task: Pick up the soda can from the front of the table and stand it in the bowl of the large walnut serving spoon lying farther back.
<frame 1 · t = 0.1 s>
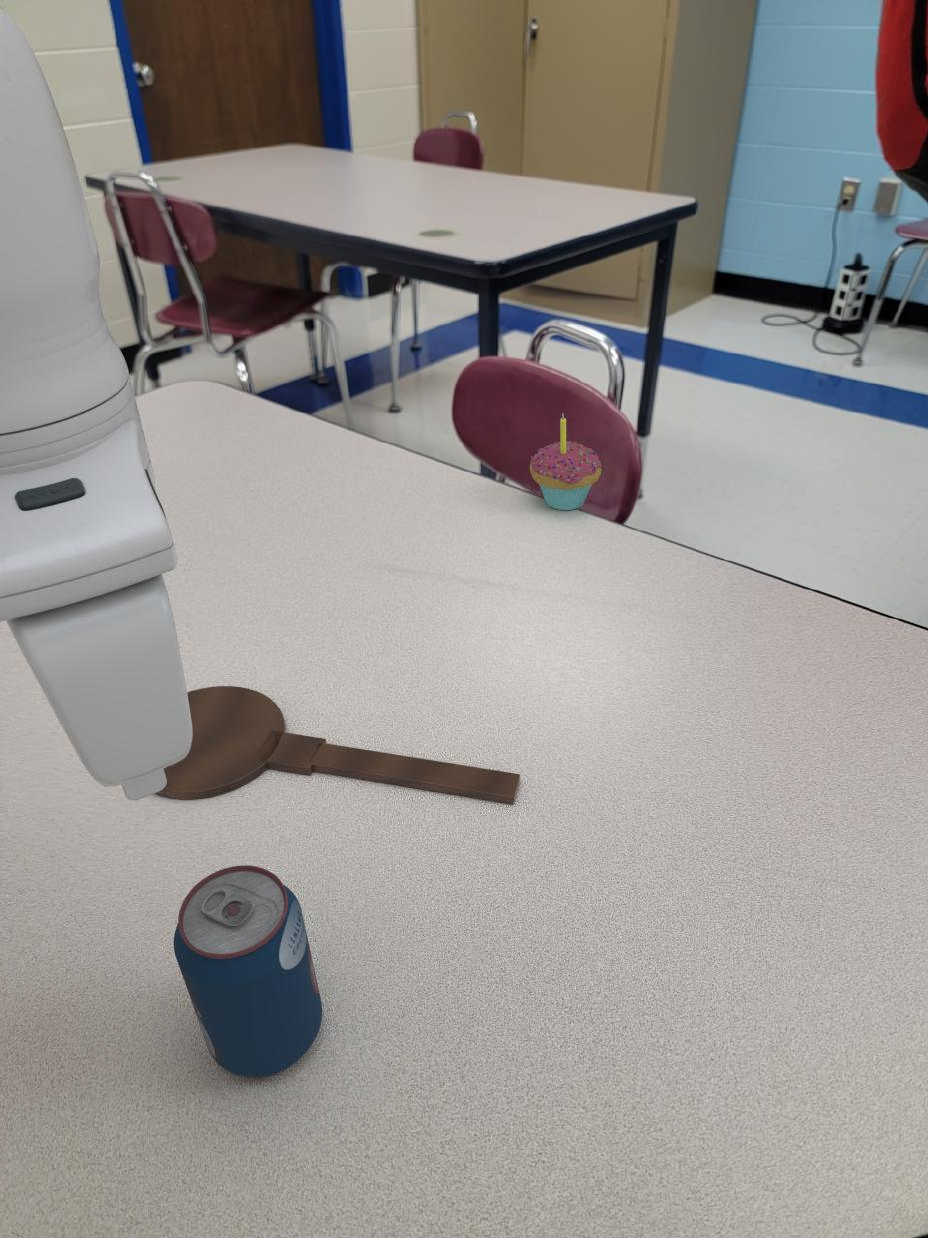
hand: (118, 725, 43), 23 cm above the table, tool pointing down, fingers open, 8 cm apart
serving spoon: (208, 742, 76), on the table
soda can: (268, 1033, 55), on the table
cupcake: (563, 502, 109), on the table
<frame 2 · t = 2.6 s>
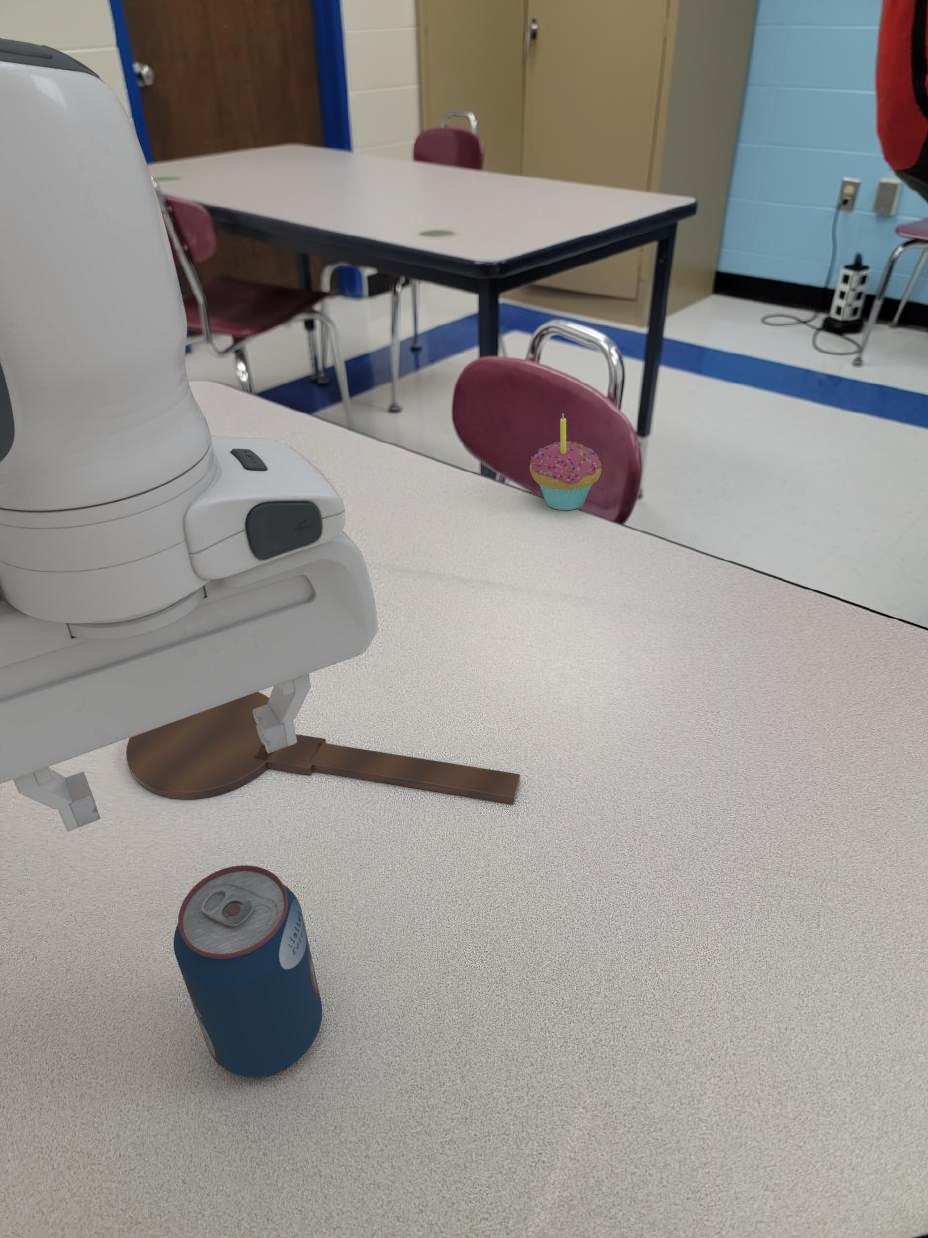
hand: (184, 777, 43), 21 cm above the table, tool pointing down, fingers open, 8 cm apart
nothing on the table moved.
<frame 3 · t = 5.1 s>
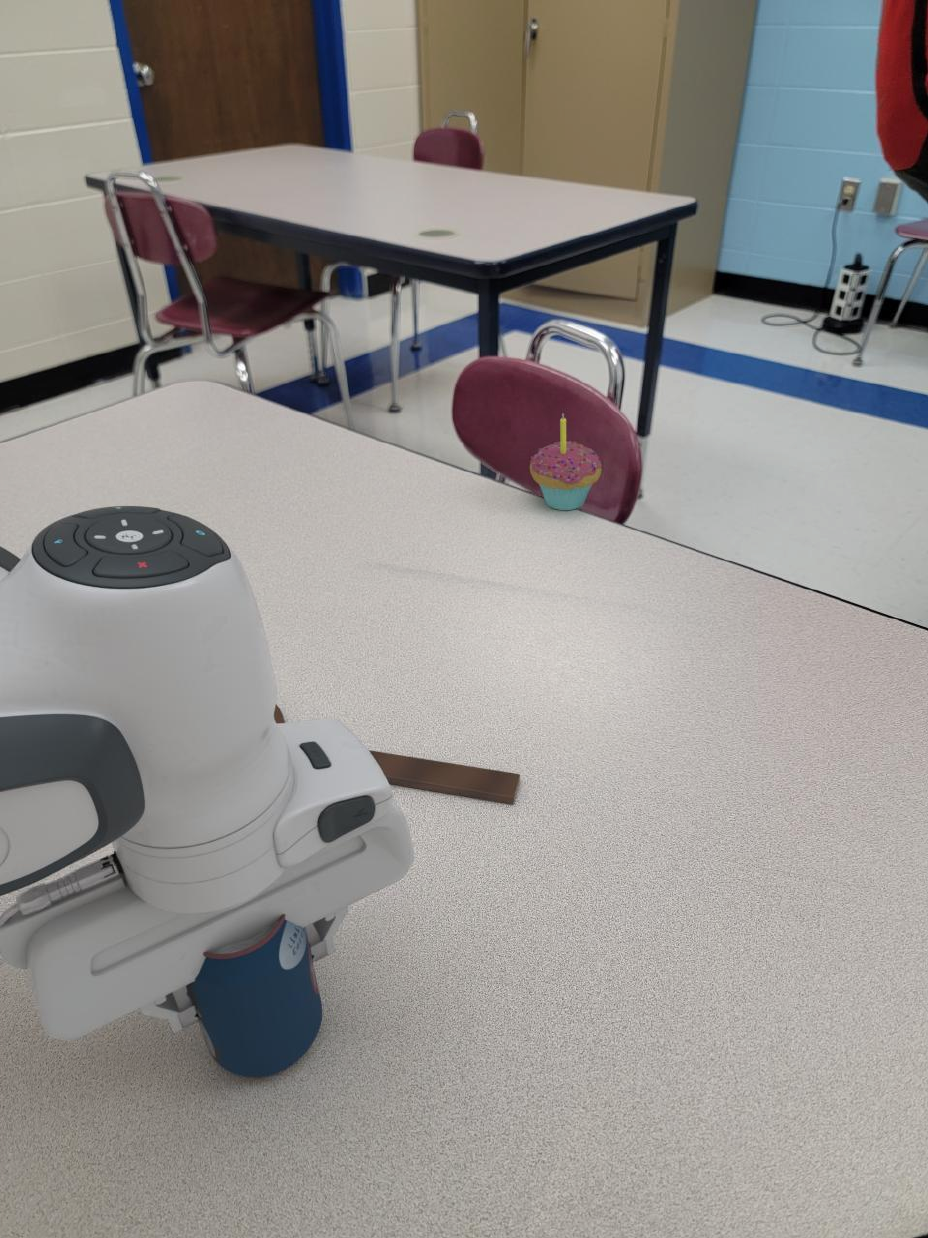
hand: (254, 982, 52), 5 cm above the table, tool pointing down, fingers closed on soda can, 7 cm apart
soda can: (268, 1033, 55), on the table, touching gripper
everything else where it was.
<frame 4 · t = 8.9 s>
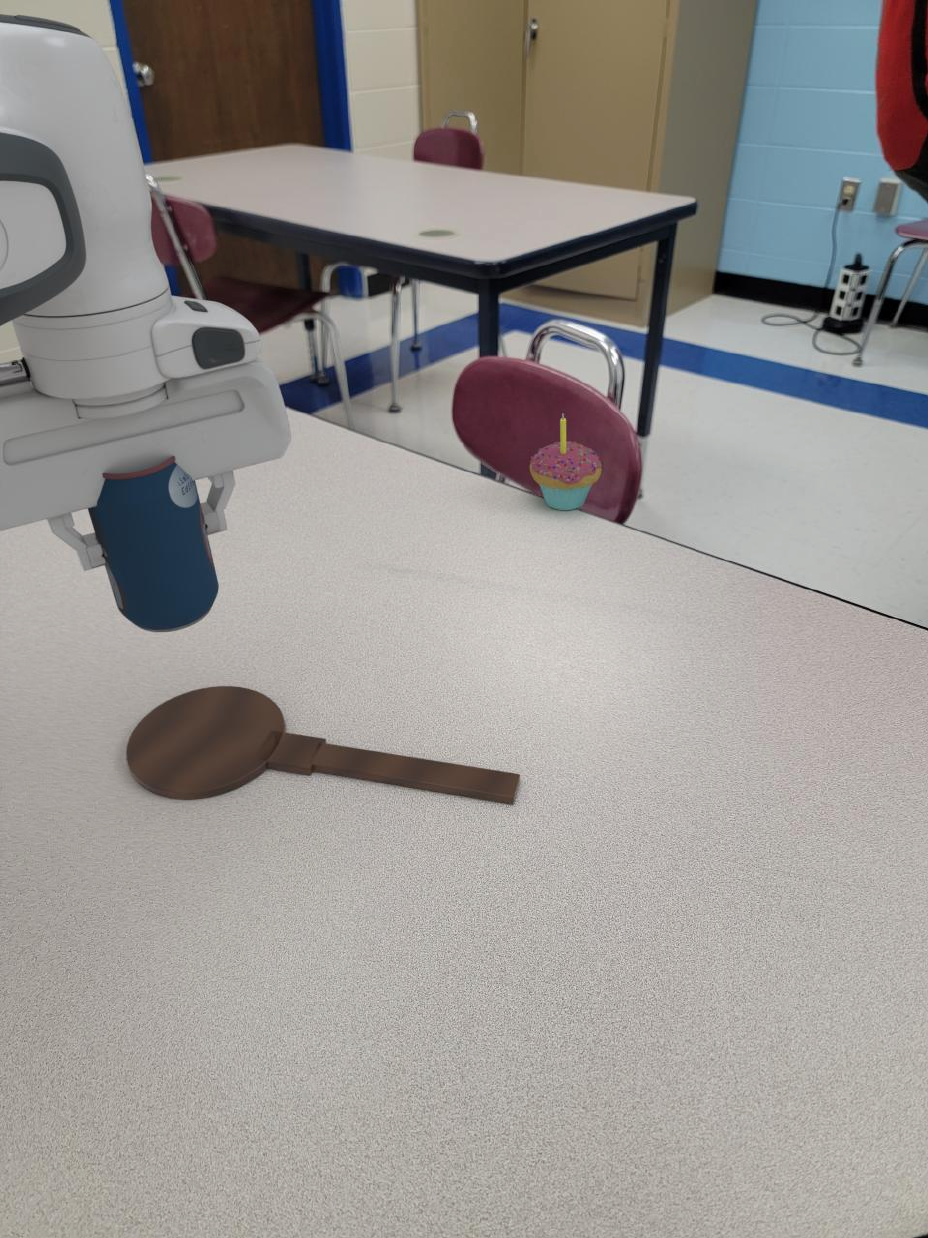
hand: (156, 546, 61), 21 cm above the table, tool pointing down, fingers closed on soda can, 7 cm apart
soda can: (173, 611, 64), point 16 cm above the table, touching gripper
everything else where it was.
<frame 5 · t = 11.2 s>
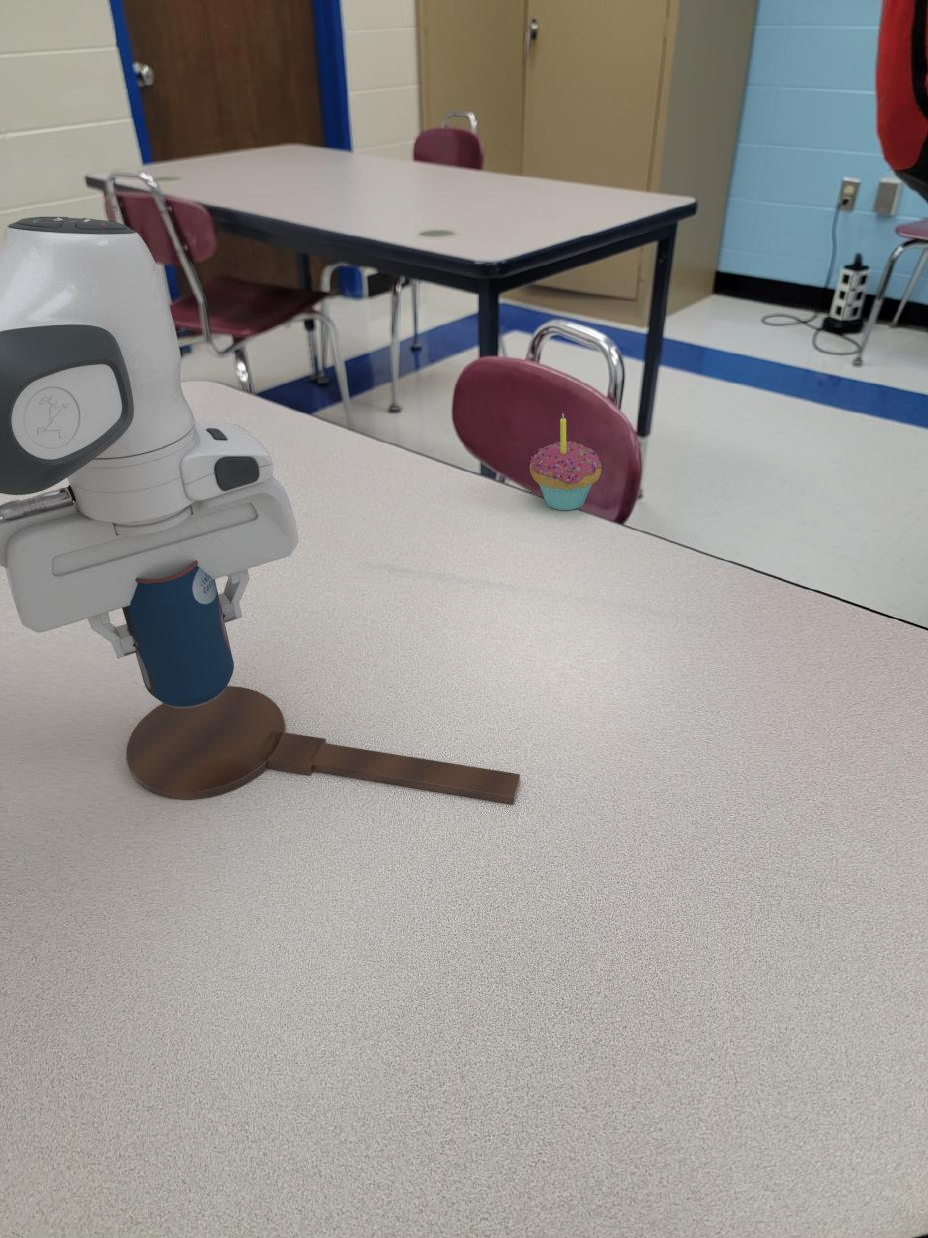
hand: (179, 633, 69), 11 cm above the table, tool pointing down, fingers closed on soda can, 7 cm apart
soda can: (193, 687, 72), point 6 cm above the table, touching gripper
everything else where it was.
when the fingers open (6 cm above the table, at t = 13.2 s): soda can stays where it is, resting on serving spoon.
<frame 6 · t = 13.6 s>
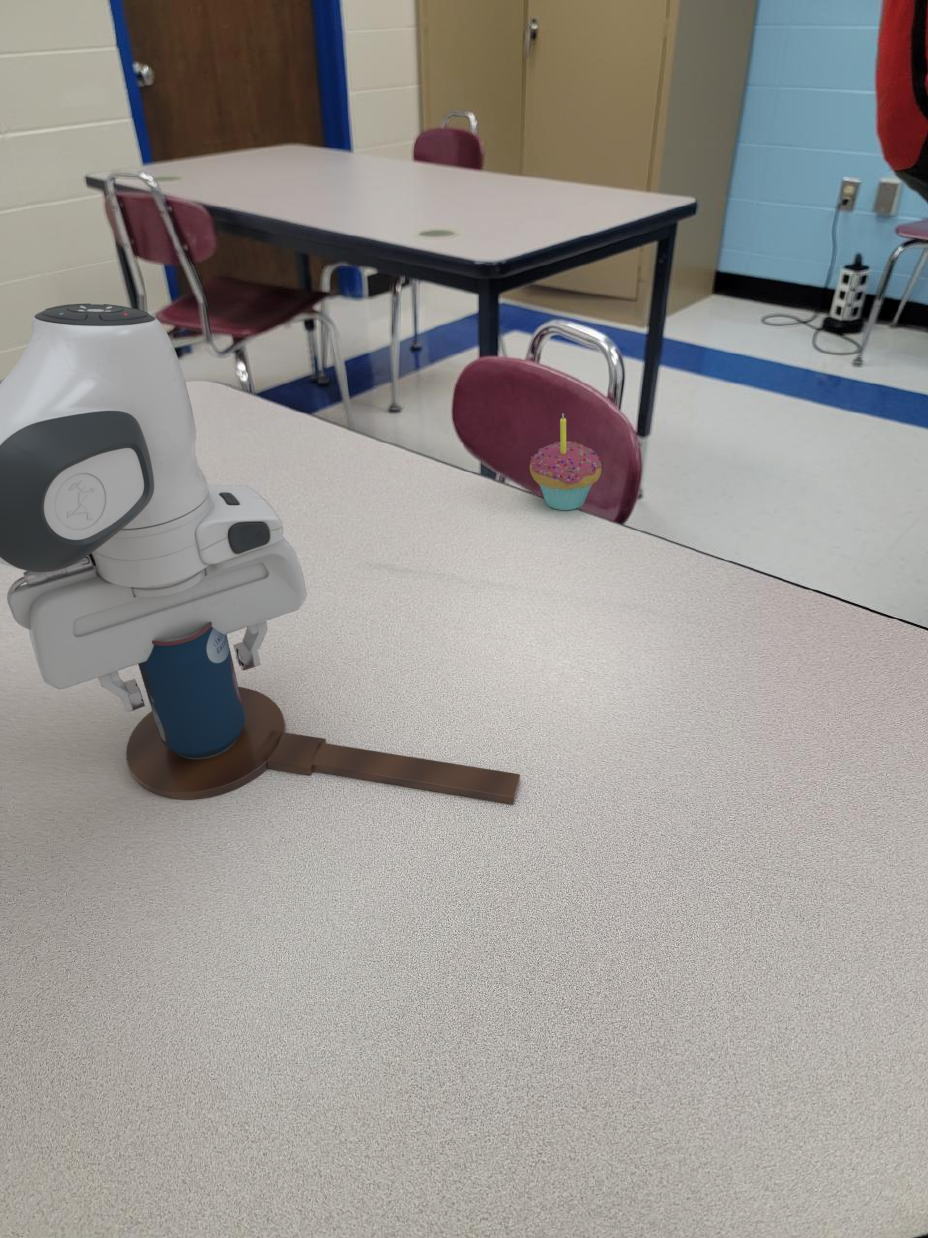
hand: (192, 684, 72), 6 cm above the table, tool pointing down, fingers open, 8 cm apart
soda can: (206, 737, 76), point 1 cm above the table, touching serving spoon
everything else where it was.
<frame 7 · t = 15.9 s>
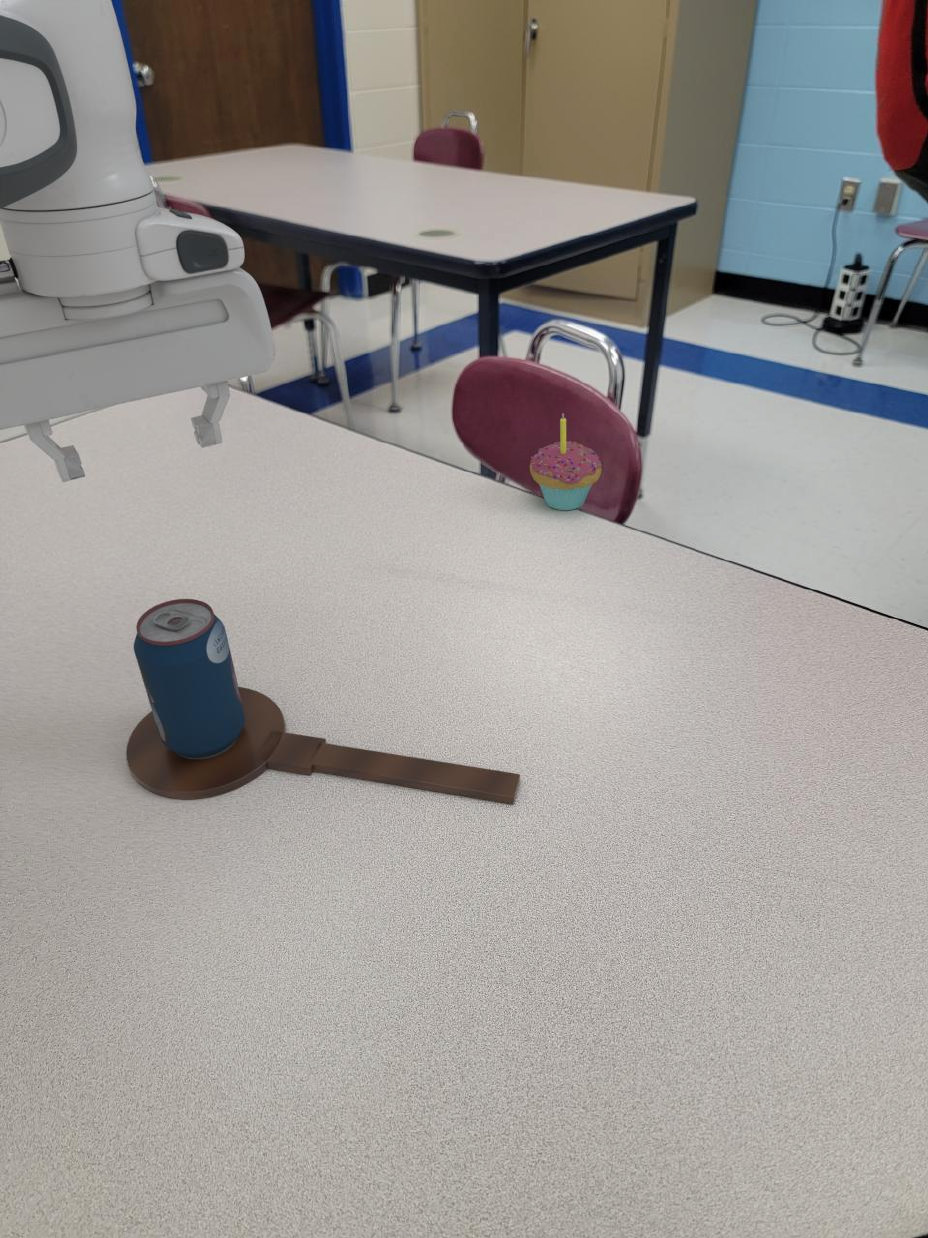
hand: (143, 459, 62), 25 cm above the table, tool pointing down, fingers open, 8 cm apart
nothing on the table moved.
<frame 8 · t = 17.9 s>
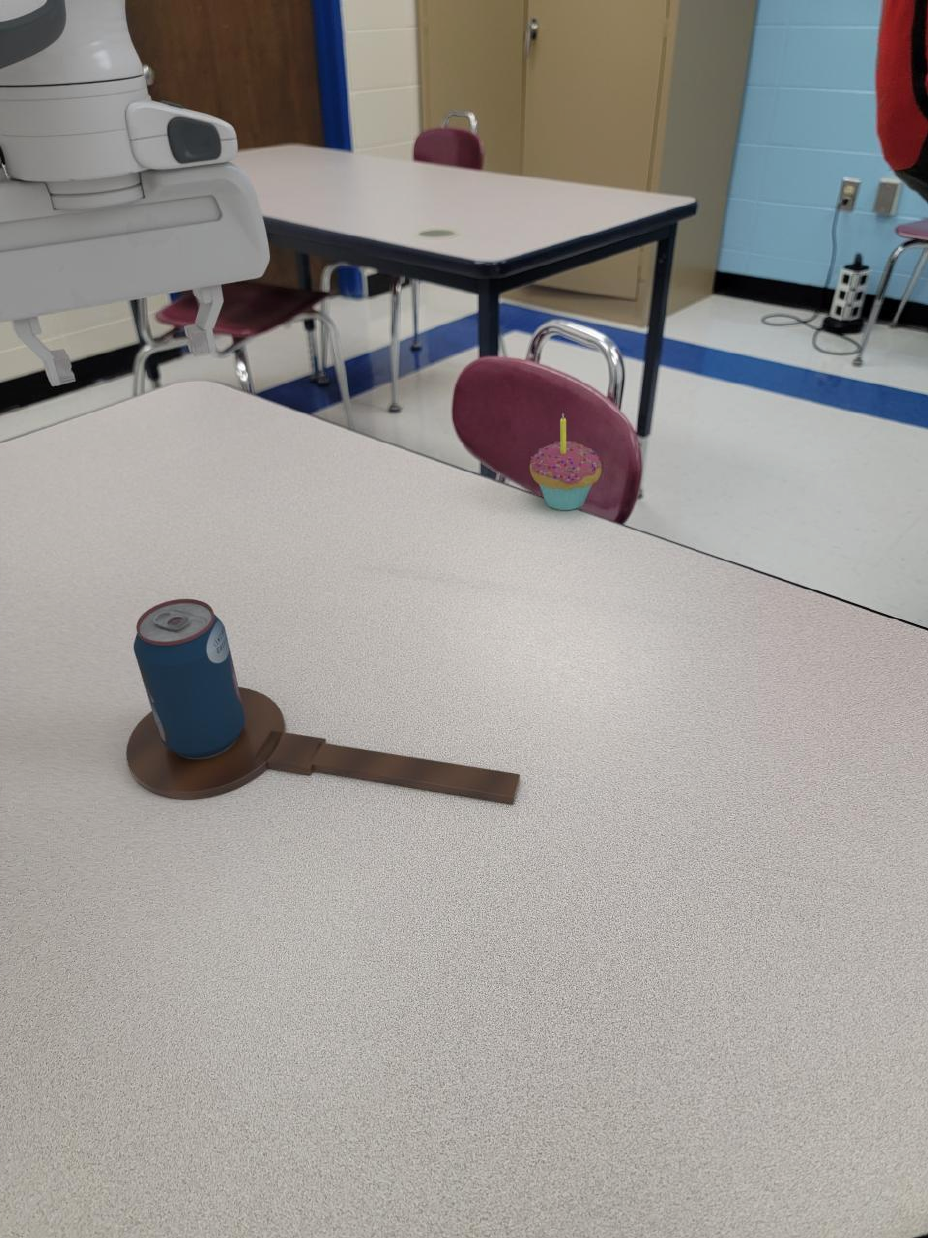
hand: (134, 366, 61), 31 cm above the table, tool pointing down, fingers open, 8 cm apart
nothing on the table moved.
at the end: soda can inside the target area on the serving spoon (0.1 cm from its centre), point 0.6 cm above the serving spoon's base; soda can tilted 0°; the gripper is holding nothing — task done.
